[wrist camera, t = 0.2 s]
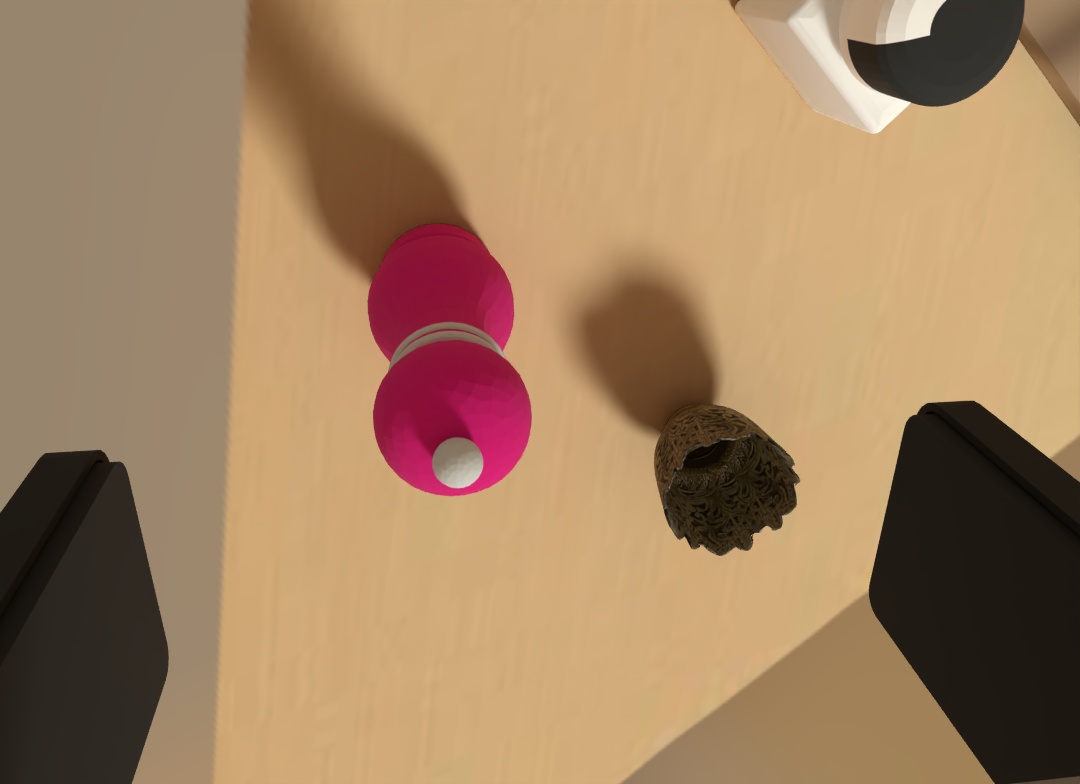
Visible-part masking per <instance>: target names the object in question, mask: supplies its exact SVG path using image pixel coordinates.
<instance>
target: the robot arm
mask: <svg viewBox="0 0 1080 784" xmlns="http://www.w3.org/2000/svg"><path fill="white" fill-rule="evenodd" d="M869 598H870V603H871V607H872V609H873V612H874V614H875V615H876V617H877V619H878V620H879V621H880V623H881V624H882V626H883V627H884V628H885V630H886V631H887V633H888V634H889V635H890V637H891V638H892V640H893V641H894V642H895V644H896V645H897V647H898V648H899V650H900V651H901V652H902V654H903V655H904V657H905V658H906V659H907V661H908V662H909V664H910V665H911V666H912V668H913V669H914V671H915V672H916V673H917V675H918V676H919V678H920V679H921V681H922V682H923V683H924V685H925V686H926V688H927V689H928V690H929V692H930V693H931V694H932V696H933V697H934V699H935V700H936V701H937V703H938V704H939V706H940V707H941V709H942V710H943V711H944V713H945V714H946V716H947V717H948V718H949V720H950V721H951V723H952V724H953V726H954V727H955V728H956V730H957V731H958V733H959V734H960V735H961V737H962V738H963V740H964V741H965V742H966V744H967V745H968V747H969V748H970V749H971V751H972V752H973V754H974V755H975V756H976V758H977V759H978V761H979V762H980V764H981V765H982V766H983V768H984V769H985V771H986V772H987V773H988V775H989V776H990V778H991V779H992V780H993V782H994V783H995V784H1080V482H1079V481H1077V480H1076V479H1074V478H1073V477H1072V476H1071V475H1070V474H1068V473H1067V472H1066V471H1064V470H1063V469H1062V468H1061V467H1059V466H1058V465H1057V464H1056V463H1054V462H1053V461H1052V460H1051V459H1049V458H1048V457H1047V456H1045V455H1044V454H1043V453H1042V452H1040V451H1039V450H1038V449H1036V448H1035V447H1034V446H1033V445H1031V444H1030V443H1029V442H1028V441H1026V440H1025V439H1024V438H1022V437H1021V436H1020V435H1019V434H1017V433H1016V432H1015V431H1014V430H1012V429H1011V428H1010V427H1008V426H1007V425H1006V424H1005V423H1003V422H1002V421H1001V420H999V419H998V418H997V417H996V416H994V415H993V414H992V413H991V412H989V411H988V410H987V409H985V408H984V407H983V406H982V405H980V404H979V403H977V402H975V401H955V402H937V403H927V404H925V405H924V406H922V407H921V409H920V410H919V411H918V413H917V415H913V416H911V417H910V418H909V419H908V421H907V422H906V425H905V428H904V432H903V437H902V441H901V446H900V450H899V455H898V459H897V464H896V468H895V473H894V477H893V482H892V486H891V491H890V495H889V500H888V504H887V508H886V513H885V517H884V522H883V526H882V531H881V535H880V540H879V544H878V549H877V553H876V558H875V562H874V567H873V571H872V576H871V580H870V585H869ZM168 657H169V656H168V646H167V641H166V636H165V632H164V628H163V623H162V619H161V615H160V610H159V606H158V602H157V598H156V593H155V589H154V584H153V580H152V576H151V572H150V567H149V563H148V559H147V554H146V550H145V546H144V541H143V537H142V533H141V528H140V524H139V520H138V515H137V511H136V507H135V503H134V498H133V494H132V490H131V485H130V481H129V477H128V473H127V470H126V468H125V466H124V464H123V463H121V462H109V459H108V458H107V456H106V454H105V453H104V452H102V451H101V450H92V451H74V452H57V453H45V454H44V455H43V456H42V457H41V458H40V459H39V460H38V461H37V463H36V464H35V466H34V467H33V468H32V470H31V471H30V473H29V474H28V475H27V477H26V478H25V480H24V481H23V482H22V484H21V485H20V486H19V488H18V489H17V490H16V492H15V493H14V495H13V496H12V498H11V499H10V500H9V502H8V503H7V505H6V506H5V507H4V509H3V510H2V511H1V513H0V784H132V781H133V778H134V775H135V772H136V769H137V766H138V763H139V760H140V757H141V754H142V750H143V748H144V745H145V741H146V739H147V735H148V732H149V729H150V726H151V723H152V720H153V717H154V714H155V711H156V708H157V705H158V702H159V699H160V696H161V693H162V689H163V687H164V684H165V681H166V676H167V672H168V659H169V658H168Z"/></svg>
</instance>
